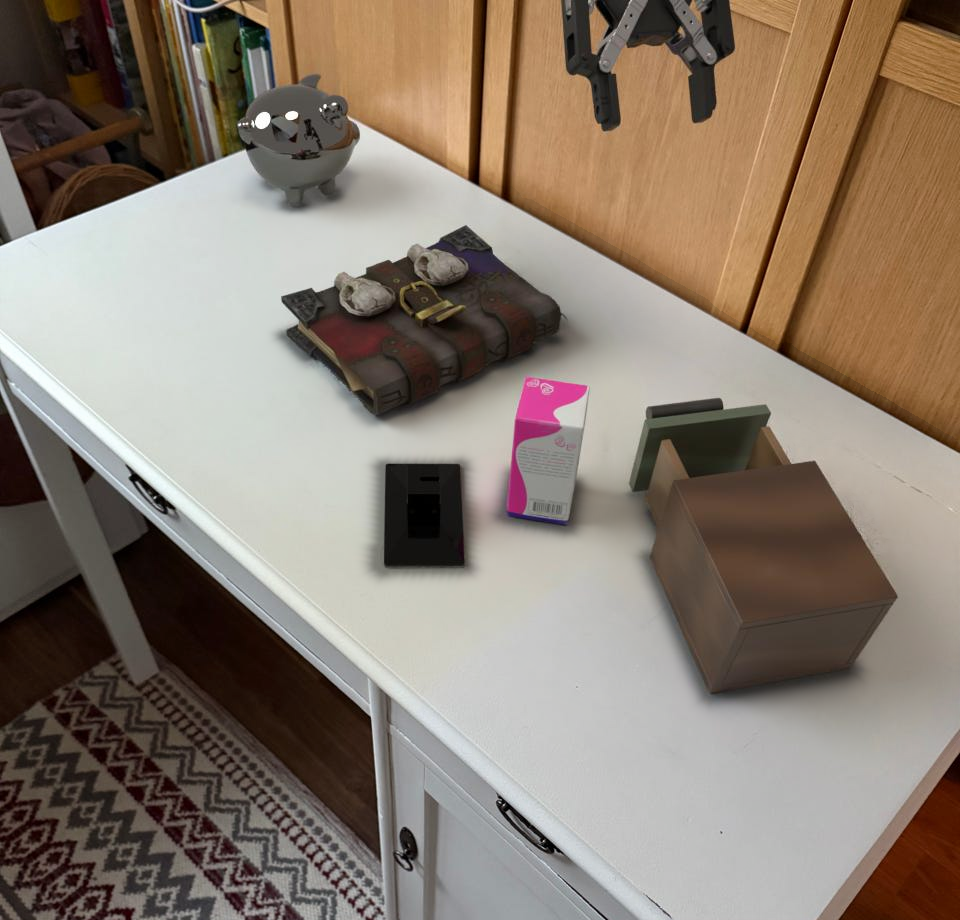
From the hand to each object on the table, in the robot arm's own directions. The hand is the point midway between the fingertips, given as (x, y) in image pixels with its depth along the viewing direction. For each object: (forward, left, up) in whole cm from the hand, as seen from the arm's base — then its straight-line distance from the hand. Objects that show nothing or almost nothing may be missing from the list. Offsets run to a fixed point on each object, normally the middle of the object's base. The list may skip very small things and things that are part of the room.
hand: (658, 124), depth 78 cm
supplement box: (+12, +17, -25) cm, 32 cm away
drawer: (-2, +22, -24) cm, 32 cm away
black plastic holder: (+23, +17, -25) cm, 38 cm away
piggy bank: (+27, -39, -25) cm, 54 cm away
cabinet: (-2, +33, -25) cm, 41 cm away
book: (+18, -8, -25) cm, 32 cm away
